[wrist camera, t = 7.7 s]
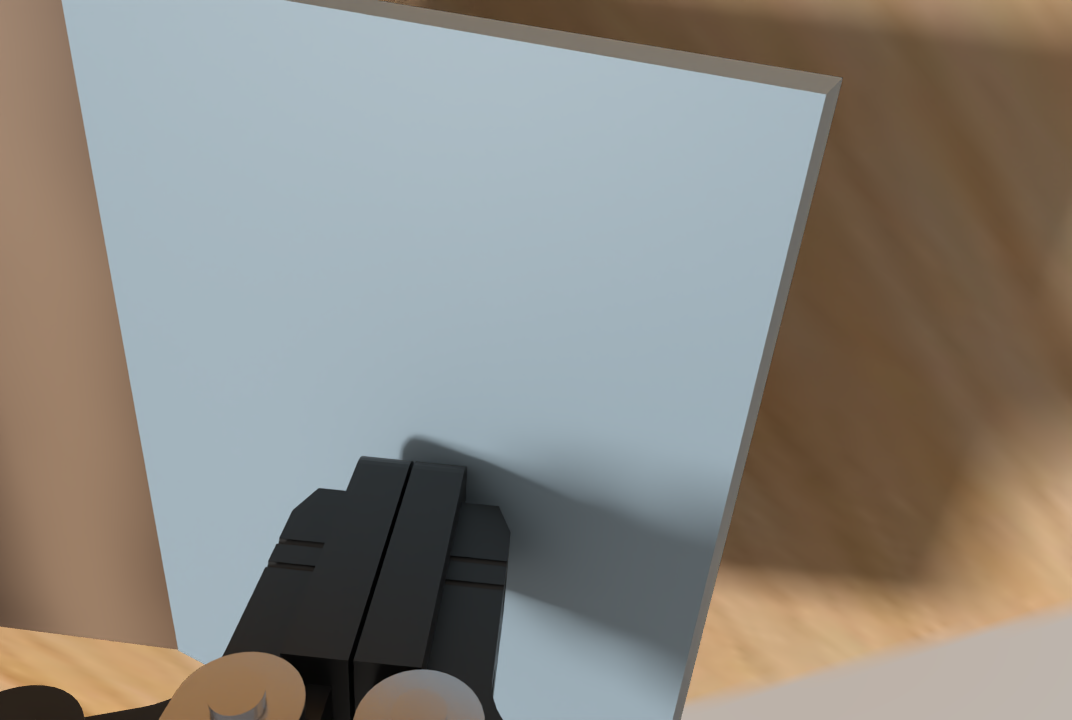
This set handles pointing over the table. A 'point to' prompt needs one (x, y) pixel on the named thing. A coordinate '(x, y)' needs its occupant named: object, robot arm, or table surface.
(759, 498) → the table surface
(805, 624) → the table surface
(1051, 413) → the table surface
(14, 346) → the brown wooden l-shaped piece
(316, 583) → the robot arm
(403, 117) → the light blue flat panel
